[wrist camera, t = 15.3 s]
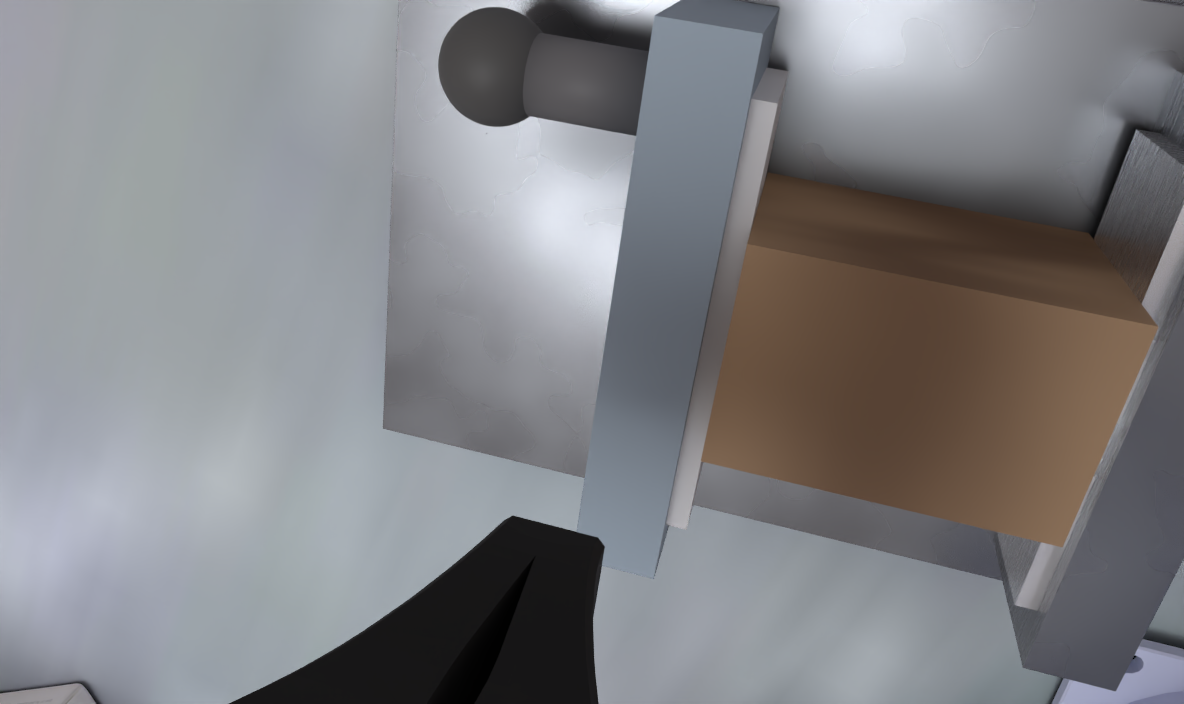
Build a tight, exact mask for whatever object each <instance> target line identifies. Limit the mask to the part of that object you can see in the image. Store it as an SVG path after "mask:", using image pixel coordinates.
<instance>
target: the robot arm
mask: <svg viewBox="0 0 1184 704" xmlns="http://www.w3.org/2000/svg"><path fill="white" fill-rule="evenodd" d="M604 549H605V546H604V545H603V543H602V542H601V540H600V539H599V538H598V537H594V536H590V535H586V534H583V533H579V532H575V531H571V530H567V529H563V528H559V527H555V526H551V525H547V524H543V523H539V522H535V521H532V520H528V519H524V518H520V517H516V516H511V517H510V518H508V519H506V520H504V521H503V522H502V523H501V524H500V525H499V526H498V527H496V528H495V529H494V530H493V531H492V532H491V533H490V534H489V535H488V536H486V537H485V538H484V539H483V540H482V541H481V542H480V543H479V544H477V545H476V546H475V547H474V548H473V549H472V550H470V551H469V552H468V553H467V554H466V555H465V556H463V557H462V558H461V559H460V560H459V561H457V562H456V563H455V564H454V565H453V566H451V567H450V568H449V569H448V570H446V571H445V572H444V573H442V574H441V575H440V576H439V577H437V578H436V579H435V580H434V581H432V582H431V583H430V584H428V585H427V586H426V587H425V588H423V589H422V590H421V591H419V592H418V593H417V594H416V595H414V596H413V597H412V598H410V599H409V600H407V601H406V602H405V603H403V604H402V605H400V606H399V607H397V608H396V609H395V610H393V611H392V612H390V613H389V614H387V615H386V616H384V617H383V618H382V619H380V620H379V621H377V622H376V623H374V624H373V625H371V626H370V627H368V628H367V629H366V630H364V631H363V632H361V633H359V634H358V635H356V636H355V637H353V638H352V639H350V640H348V641H347V642H345V643H344V644H342V645H340V646H339V647H337V648H335V649H334V650H332V651H330V652H329V653H327V654H325V655H323V656H322V657H320V658H318V659H316V660H315V661H313V662H311V663H309V664H308V665H306V666H304V667H302V668H300V669H299V670H297V671H295V672H293V673H291V674H289V675H287V676H285V677H283V678H281V679H279V680H277V681H275V682H273V683H271V684H269V685H267V686H265V687H263V688H261V689H259V690H257V691H255V692H253V693H250V694H248V695H246V696H244V697H242V698H240V699H238V700H236V701H234V702H231V703H229V704H598V695H597V686H596V677H595V664H594V642H593V615H594V609H595V603H596V597H597V591H598V585H599V579H600V573H601V567H602V561H603V555H604ZM1135 655H1136V656H1137V657H1136V658H1135V659H1133V660H1132V661H1131V663H1130V665H1129V667H1128V669H1127V671H1126V673H1125V675H1124V676H1123V678H1122V680H1121V682H1120V684H1119V686H1118V688H1117V690H1116V691H1112V690H1108V689H1104V688H1100V687H1096V686H1092V685H1088V684H1085V683H1081V682H1077V681H1073V680H1069V679H1065V678H1063V681H1062V683H1061V685H1060V687H1059V689H1058V691H1057V693H1056V695H1055V697H1054V700H1053V702H1052V704H1184V649H1181V648H1177V647H1173V646H1169V645H1165V644H1161V643H1157V642H1153V641H1149V640H1145V639H1142V641H1141V643H1140V645H1139V647H1138V649H1137V651H1136V653H1135Z"/></svg>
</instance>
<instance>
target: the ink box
mask: <svg viewBox="0 0 1184 704" xmlns="http://www.w3.org/2000/svg"><path fill="white" fill-rule="evenodd" d="M0 704H96V702H95V701H94V699H93V698H92V697H91V695H90V694H89V692H88V691H87V689H86V688H85V687H84V686H83V685H82V684H79V683H75V684H67V685H61V686H54V687H46V688H38V689H30V690H22V691H15V692H8V693H0Z"/></svg>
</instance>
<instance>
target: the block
mask: <svg viewBox="0 0 1184 704" xmlns="http://www.w3.org/2000/svg"><path fill="white" fill-rule="evenodd" d="M1157 329H1158V325H1157V324H1156V323H1155V321H1154V320H1153V319H1152V317H1151V316H1150V315H1149V313H1148V312H1147V311H1146V309H1145V308H1144V307H1143V305H1142V304H1141V303H1140V301H1139V300H1138V299H1137V297H1136V296H1135V295H1134V293H1133V292H1132V290H1131V289H1130V288H1129V286H1128V285H1127V284H1126V282H1125V281H1124V280H1123V278H1122V277H1121V276H1120V274H1119V273H1118V272H1117V270H1116V269H1115V268H1114V266H1113V265H1112V264H1111V262H1110V261H1109V260H1108V258H1107V257H1106V256H1105V254H1104V253H1103V252H1102V250H1101V249H1100V248H1099V246H1098V245H1097V244H1096V242H1095V241H1094V240H1093V238H1092V237H1091V236H1090V234H1089V233H1086V232H1081V231H1075V230H1070V229H1065V228H1059V227H1054V226H1049V225H1044V224H1038V223H1033V222H1028V221H1022V220H1017V219H1012V218H1007V217H1001V216H996V215H991V214H985V213H980V212H975V211H970V210H964V209H959V208H954V207H948V206H943V205H938V204H933V203H927V202H922V201H917V200H911V199H906V198H901V197H896V196H890V195H885V194H880V193H874V192H869V191H864V190H859V189H853V188H848V187H843V186H837V185H832V184H827V183H822V182H816V181H811V180H806V179H800V178H795V177H790V176H785V175H779V174H774V173H769V172H768V173H767V177H766V180H765V184H764V187H763V191H762V194H761V198H760V201H759V205H758V208H757V211H756V215H755V218H754V222H753V225H752V229H751V232H750V236H749V239H748V243H747V247H746V252H745V256H744V261H743V266H742V270H741V275H740V280H739V284H738V289H737V294H736V298H735V303H734V308H733V312H732V317H731V322H730V326H729V331H728V336H727V340H726V345H725V350H724V355H723V359H722V364H721V369H720V373H719V378H718V383H717V387H716V392H715V397H714V401H713V406H712V411H711V415H710V420H709V425H708V429H707V434H706V439H705V443H704V448H703V453H702V457H701V461H702V462H706V463H710V464H714V465H719V466H723V467H727V468H731V469H735V470H740V471H744V472H748V473H752V474H756V475H761V476H765V477H769V478H773V479H777V480H782V481H786V482H790V483H794V484H798V485H803V486H807V487H811V488H815V489H819V490H824V491H828V492H832V493H836V494H840V495H845V496H849V497H853V498H857V499H861V500H865V501H870V502H874V503H878V504H882V505H886V506H891V507H895V508H899V509H903V510H907V511H912V512H916V513H920V514H924V515H928V516H933V517H937V518H941V519H945V520H949V521H954V522H958V523H962V524H966V525H970V526H975V527H979V528H983V529H987V530H991V531H996V532H1000V533H1004V534H1008V535H1012V536H1017V537H1021V538H1025V539H1029V540H1033V541H1038V542H1042V543H1046V544H1050V545H1054V546H1059V547H1063V545H1064V543H1065V541H1066V538H1067V536H1068V534H1069V531H1070V529H1071V527H1072V524H1073V522H1074V520H1075V518H1076V515H1077V513H1078V511H1079V508H1080V506H1081V504H1082V502H1083V499H1084V497H1085V495H1086V492H1087V490H1088V488H1089V485H1090V483H1091V481H1092V479H1093V476H1094V474H1095V472H1096V469H1097V467H1098V465H1099V463H1100V460H1101V458H1102V456H1103V453H1104V451H1105V449H1106V446H1107V444H1108V442H1109V440H1110V437H1111V435H1112V433H1113V430H1114V428H1115V426H1116V423H1117V421H1118V419H1119V417H1120V414H1121V412H1122V410H1123V407H1124V405H1125V403H1126V401H1127V398H1128V396H1129V394H1130V391H1131V389H1132V387H1133V384H1134V382H1135V380H1136V378H1137V375H1138V373H1139V371H1140V368H1141V366H1142V364H1143V362H1144V359H1145V357H1146V355H1147V352H1148V350H1149V348H1150V345H1151V343H1152V341H1153V339H1154V336H1155V334H1156V332H1157Z"/></svg>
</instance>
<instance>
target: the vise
mask: <svg viewBox="0 0 1184 704" xmlns="http://www.w3.org/2000/svg"><path fill="white" fill-rule="evenodd" d="M679 1H680V0H399V5H398V33H397V60H396V87H395V115H394V142H393V169H392V197H391V224H390V251H389V279H388V306H387V333H386V361H385V388H384V415H383V429H387V430H391V431H395V432H400V433H404V434H408V435H412V436H416V437H420V438H424V439H428V440H432V441H436V442H440V443H444V444H448V445H452V446H457V447H461V448H465V449H469V450H473V451H477V452H481V453H485V454H489V455H493V456H497V457H501V458H505V459H509V460H514V461H518V462H522V463H526V464H530V465H534V466H538V467H542V468H546V469H550V470H554V471H558V472H562V473H566V474H571V475H575V476H579V477H583V478H585V472H586V466H587V459H588V453H589V446H590V439H591V433H592V426H593V419H594V413H595V406H596V399H597V393H598V386H599V380H600V373H601V366H602V360H603V353H604V346H605V340H606V333H607V326H608V320H609V313H610V307H611V300H612V293H613V287H614V280H615V273H616V267H617V260H618V253H619V247H620V240H621V234H622V227H623V220H624V214H625V207H626V200H627V194H628V187H629V180H630V174H631V167H632V161H633V154H634V147H635V141H636V136H633V135H627V134H622V133H617V132H611V131H606V130H601V129H595V128H590V127H585V126H579V125H574V124H569V123H563V122H558V121H553V120H547V119H542V118H537V117H531V116H530V117H528V118H527V119H525V120H523V121H521V122H519V123H517V124H514V125H510V126H504V127H491V126H485V125H481V124H479V123H476V122H474V121H472V120H470V119H468V118H466V117H465V116H464V115H462V114H461V113H460V112H459V111H458V110H456V109H455V107H454V106H453V105H452V104H451V103H450V101H449V100H448V98H447V96H446V95H445V93H444V91H443V88H442V85H441V82H440V78H439V71H438V60H439V53H440V49H441V45H442V43H443V40H444V38H445V36H446V34H447V33H448V31H449V30H450V29H451V27H452V26H453V25H454V24H455V23H456V22H457V21H458V20H459V19H461V18H462V17H463V16H465V15H467V14H468V13H470V12H472V11H475V10H478V9H481V8H486V7H503V8H508V9H511V10H514V11H516V12H519V13H521V14H523V15H524V16H526V17H528V18H529V19H530V20H532V21H533V22H534V23H535V24H536V25H537V26H538V27H539V29H540V30H541V31H542V32H543V33H545V34H551V35H557V36H563V37H568V38H574V39H580V40H586V41H592V42H597V43H603V44H609V45H615V46H620V47H626V48H632V49H638V50H644V51H649V48H650V41H651V35H652V28H653V21H654V15H656V14H658V13H660V12H661V11H663V10H665V9H667V8H668V7H670V6H672V5H674V4H675V3H677V2H679ZM736 1H742V2H748V3H754V4H761V5H767V6H773V7H779V8H780V9H779V14H778V19H777V24H776V29H775V34H774V39H773V43H772V48H771V53H770V58H769V63H768V68H772V69H778V70H784V71H789V72H788V77H787V81H786V86H785V91H784V95H783V100H782V105H781V109H780V114H779V118H778V123H777V128H776V132H775V137H774V142H773V146H772V151H771V156H770V160H769V165H768V169H767V173H768V172H769V173H774V174H779V175H785V176H790V177H795V178H800V179H806V180H811V181H816V182H822V183H827V184H832V185H837V186H843V187H848V188H853V189H859V190H864V191H869V192H874V193H880V194H885V195H890V196H896V197H901V198H906V199H911V200H917V201H922V202H927V203H933V204H938V205H943V206H948V207H954V208H959V209H964V210H970V211H975V212H980V213H985V214H991V215H996V216H1001V217H1007V218H1012V219H1017V220H1022V221H1028V222H1033V223H1038V224H1044V225H1049V226H1054V227H1059V228H1065V229H1070V230H1075V231H1081V232H1086V233H1089V234H1090V236H1091V237H1092V238H1093V240H1094V241H1095V242H1096V244H1097V245H1098V246H1099V248H1100V249H1101V250H1102V252H1103V253H1104V254H1105V256H1106V257H1107V258H1108V260H1109V261H1110V262H1111V264H1112V265H1113V266H1114V268H1115V269H1116V270H1117V272H1118V273H1119V274H1120V276H1121V277H1122V278H1123V280H1124V281H1125V282H1126V284H1127V285H1128V286H1129V288H1130V289H1131V290H1132V292H1133V293H1134V295H1135V296H1136V297H1137V299H1138V300H1139V301H1140V303H1141V304H1142V305H1143V307H1144V308H1145V309H1146V311H1147V312H1148V313H1149V315H1150V316H1151V317H1152V319H1153V320H1154V321H1155V323H1156V324H1157V325H1158V329H1157V332H1156V334H1155V336H1154V339H1153V341H1152V343H1151V345H1150V348H1149V350H1148V352H1147V355H1146V357H1145V359H1144V362H1143V364H1142V366H1141V368H1140V371H1139V373H1138V375H1137V378H1136V380H1135V382H1134V384H1133V387H1132V389H1131V391H1130V394H1129V396H1128V398H1127V401H1126V403H1125V405H1124V407H1123V410H1122V412H1121V414H1120V417H1119V419H1118V421H1117V423H1116V426H1115V428H1114V430H1113V433H1112V435H1111V437H1110V440H1109V442H1108V444H1107V446H1106V449H1105V451H1104V453H1103V456H1102V458H1101V460H1100V463H1099V465H1098V467H1097V469H1096V472H1095V474H1094V476H1093V479H1092V481H1091V483H1090V485H1089V488H1088V490H1087V492H1086V495H1085V497H1084V499H1083V502H1082V504H1081V506H1080V508H1079V511H1078V513H1077V515H1076V518H1075V520H1074V522H1073V524H1072V527H1071V529H1070V531H1069V534H1068V536H1067V538H1066V541H1065V543H1064V545H1063V547H1059V546H1054V545H1050V544H1046V543H1042V542H1038V541H1033V540H1029V539H1025V538H1021V537H1017V536H1012V535H1008V534H1004V533H1000V532H996V531H991V530H987V529H983V528H979V527H975V526H970V525H966V524H962V523H958V522H954V521H949V520H945V519H941V518H937V517H933V516H928V515H924V514H920V513H916V512H912V511H907V510H903V509H899V508H895V507H891V506H886V505H882V504H878V503H874V502H870V501H865V500H861V499H857V498H853V497H849V496H845V495H840V494H836V493H832V492H828V491H824V490H819V489H815V488H811V487H807V486H803V485H798V484H794V483H790V482H786V481H782V480H777V479H773V478H769V477H765V476H761V475H756V474H752V473H748V472H744V471H740V470H735V469H731V468H727V467H723V466H719V465H714V464H710V463H706V462H704V463H703V467H702V471H701V475H700V479H699V483H698V487H697V490H696V494H695V498H694V502H693V505H697V506H701V507H705V508H709V509H713V510H717V511H721V512H725V513H729V514H733V515H737V516H742V517H746V518H750V519H754V520H758V521H762V522H766V523H770V524H774V525H778V526H782V527H786V528H790V529H794V530H799V531H803V532H807V533H811V534H815V535H819V536H823V537H827V538H831V539H835V540H839V541H843V542H847V543H851V544H855V545H860V546H864V547H868V548H872V549H876V550H880V551H884V552H888V553H892V554H896V555H900V556H904V557H908V558H912V559H917V560H921V561H925V562H929V563H933V564H937V565H941V566H945V567H949V568H953V569H957V570H961V571H965V572H969V573H974V574H978V575H982V576H986V577H990V578H994V579H998V580H1002V581H1003V585H1004V589H1005V593H1006V597H1007V602H1008V606H1009V610H1010V614H1011V619H1012V623H1013V627H1014V631H1015V636H1016V640H1017V644H1018V649H1019V653H1020V657H1021V661H1022V666H1023V668H1027V669H1030V670H1034V671H1038V672H1042V673H1046V674H1050V675H1054V676H1058V677H1061V678H1065V679H1069V680H1073V681H1077V682H1081V683H1085V684H1088V685H1092V686H1096V687H1100V688H1104V689H1108V690H1112V691H1116V690H1117V688H1118V686H1119V684H1120V682H1121V680H1122V678H1123V676H1124V675H1125V673H1126V671H1127V669H1128V667H1129V665H1130V663H1131V661H1132V659H1133V657H1134V655H1135V653H1136V651H1137V649H1138V647H1139V645H1140V643H1141V641H1142V639H1143V637H1144V635H1145V633H1146V631H1147V629H1148V627H1149V625H1150V624H1151V622H1152V620H1153V618H1154V616H1155V614H1156V612H1157V610H1158V608H1159V606H1160V604H1161V602H1162V600H1163V598H1164V596H1165V594H1166V592H1167V590H1168V588H1169V586H1170V584H1171V582H1172V580H1173V578H1174V576H1175V574H1176V572H1177V571H1178V569H1179V567H1180V565H1181V563H1182V561H1183V559H1184V5H1180V4H1174V3H1167V2H1160V1H1154V0H736ZM766 177H767V174H766ZM765 180H766V179H765ZM764 184H765V183H764Z"/></svg>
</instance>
